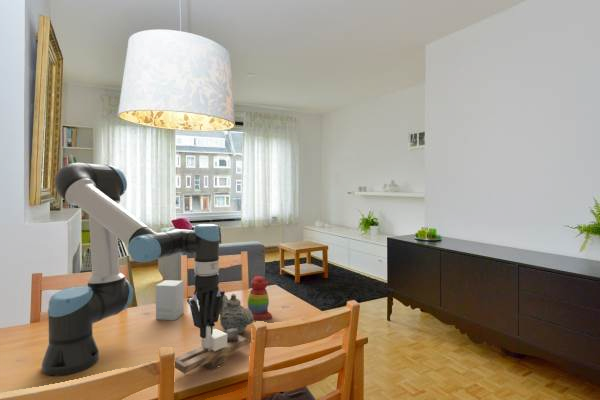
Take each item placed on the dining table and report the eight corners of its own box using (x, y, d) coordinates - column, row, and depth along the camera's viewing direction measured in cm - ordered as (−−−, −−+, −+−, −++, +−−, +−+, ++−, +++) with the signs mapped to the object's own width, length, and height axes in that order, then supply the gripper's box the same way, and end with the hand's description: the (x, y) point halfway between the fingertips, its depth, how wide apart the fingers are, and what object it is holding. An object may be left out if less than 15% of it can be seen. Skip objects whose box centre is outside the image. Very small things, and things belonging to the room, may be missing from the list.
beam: (184, 383, 99) (184, 356, 99) (171, 375, 103) (171, 349, 103) (247, 353, 118) (247, 330, 118) (233, 346, 123) (233, 324, 122)
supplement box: (184, 313, 154) (184, 280, 154) (175, 320, 145) (175, 286, 145) (165, 312, 155) (165, 279, 155) (155, 319, 146) (155, 285, 146)
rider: (214, 357, 108) (214, 338, 107) (202, 351, 112) (202, 333, 111) (227, 351, 112) (227, 333, 111) (214, 345, 116) (215, 328, 115)
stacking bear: (273, 318, 149) (273, 278, 149) (250, 321, 146) (251, 280, 145) (266, 310, 159) (266, 272, 159) (245, 313, 156) (245, 274, 155)
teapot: (262, 334, 133) (262, 296, 133) (238, 344, 124) (239, 303, 124) (229, 319, 147) (229, 285, 147) (205, 327, 139) (206, 291, 138)
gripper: (196, 279, 101) (195, 357, 101) (230, 271, 111) (229, 342, 112) (181, 275, 105) (181, 350, 106) (216, 267, 115) (215, 336, 116)
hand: (206, 346), depth 109 cm, fingers closed
